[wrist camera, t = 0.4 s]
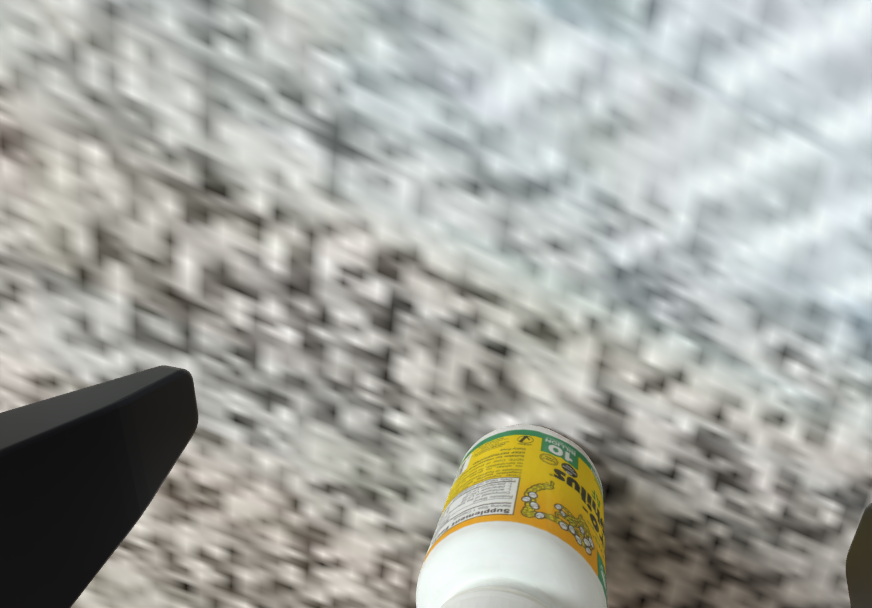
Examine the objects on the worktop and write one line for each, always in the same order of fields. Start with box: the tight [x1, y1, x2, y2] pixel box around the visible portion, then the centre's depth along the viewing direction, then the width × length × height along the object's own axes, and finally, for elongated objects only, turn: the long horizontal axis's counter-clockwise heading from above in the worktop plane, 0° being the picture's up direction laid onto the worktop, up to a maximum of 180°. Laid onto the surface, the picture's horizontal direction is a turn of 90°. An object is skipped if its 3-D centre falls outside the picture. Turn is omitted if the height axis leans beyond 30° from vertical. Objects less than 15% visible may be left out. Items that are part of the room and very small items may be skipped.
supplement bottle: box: [416, 424, 607, 608], centre depth 20 cm, size 5×5×10 cm
